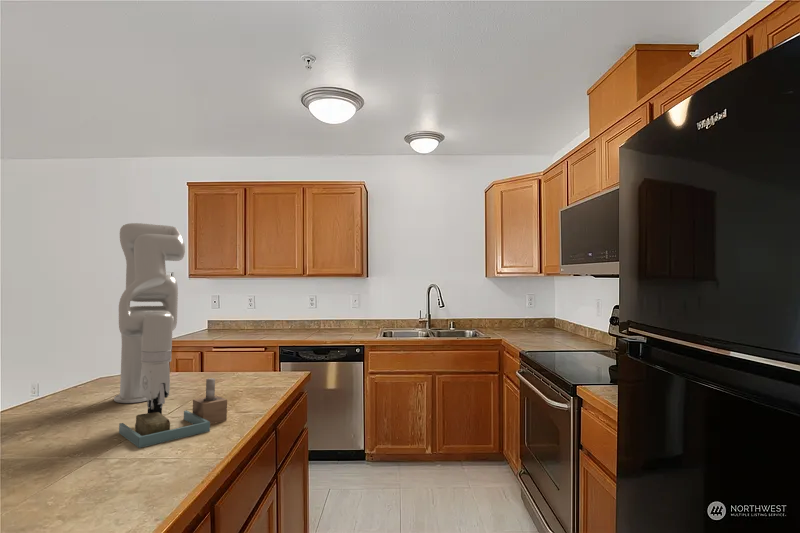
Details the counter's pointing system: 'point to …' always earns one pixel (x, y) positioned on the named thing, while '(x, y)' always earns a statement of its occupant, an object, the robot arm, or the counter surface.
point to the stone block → (151, 423)
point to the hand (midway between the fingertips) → (154, 421)
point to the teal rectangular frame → (155, 438)
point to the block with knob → (211, 405)
